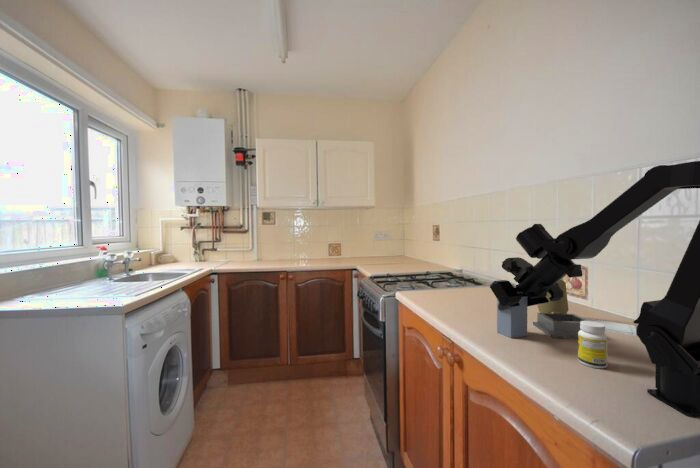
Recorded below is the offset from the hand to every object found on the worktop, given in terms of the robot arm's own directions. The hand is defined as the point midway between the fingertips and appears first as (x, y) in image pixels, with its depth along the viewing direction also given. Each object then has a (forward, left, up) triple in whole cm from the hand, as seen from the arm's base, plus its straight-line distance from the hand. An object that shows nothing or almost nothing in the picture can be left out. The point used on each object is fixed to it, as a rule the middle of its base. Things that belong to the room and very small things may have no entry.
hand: (507, 308), depth 79 cm
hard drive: (+5, -30, -7) cm, 31 cm away
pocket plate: (+1, -16, -7) cm, 17 cm away
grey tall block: (-1, -1, -7) cm, 7 cm away
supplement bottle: (-18, -9, -7) cm, 21 cm away
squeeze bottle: (+13, -20, -7) cm, 24 cm away
